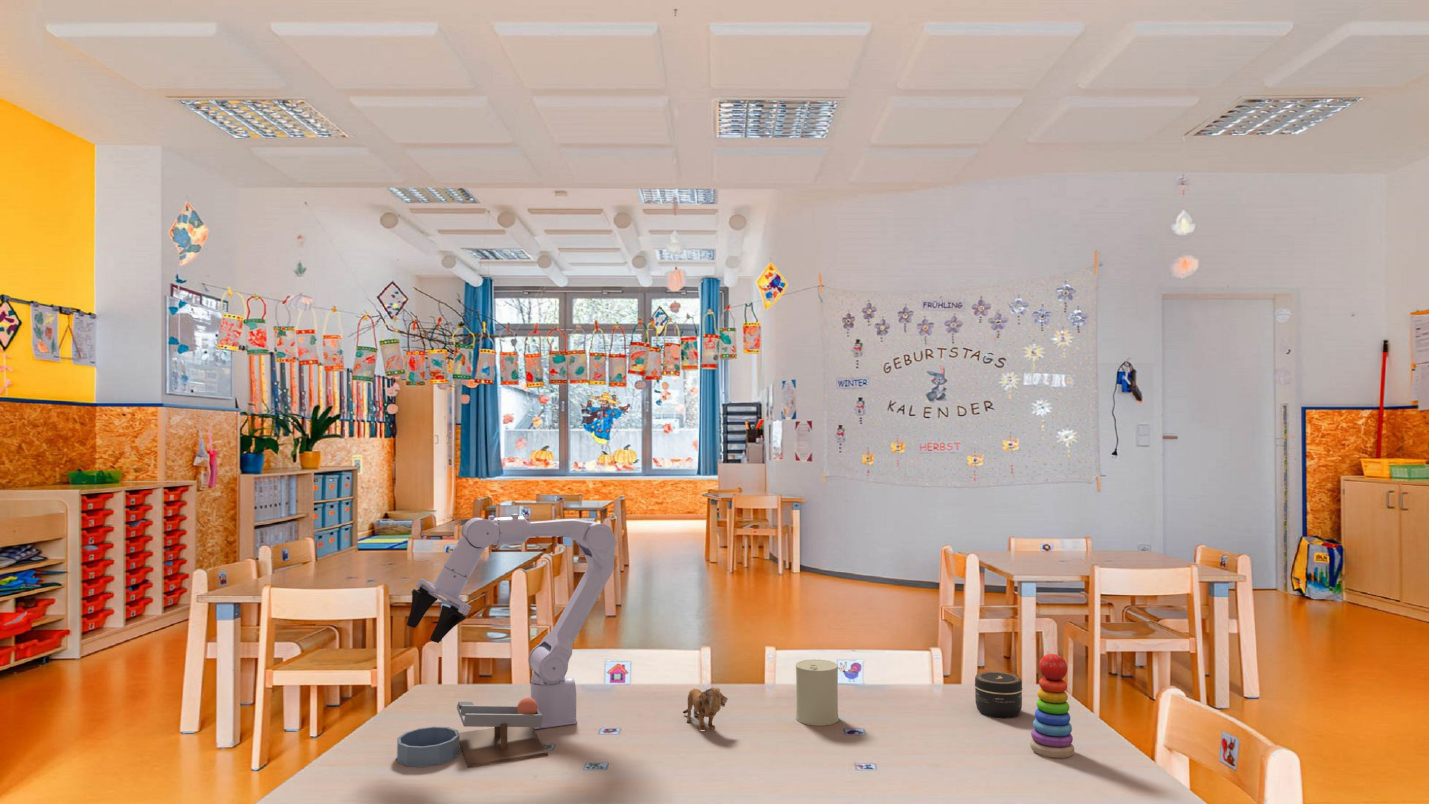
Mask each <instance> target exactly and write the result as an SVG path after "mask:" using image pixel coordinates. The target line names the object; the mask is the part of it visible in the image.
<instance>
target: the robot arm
mask: <svg viewBox="0 0 1429 804" xmlns="http://www.w3.org/2000/svg"><path fill="white" fill-rule="evenodd" d="M460 530H461V531H460V532H461V533H460V534H461V536H460V538H459V539H458V541H457V543H456V544H455V546H454V547H453V549H452V550H451V552H450V553H449V556H448V558H447V559H446V562H445V563H444V565H443V567H442V569H441V570H440V572H439V574H438V576H437V578H436V580H435V581H434V583H432V582H430V581H428V580H425V579H424V578H419V580H418V582H417V584H416V585H415V587H416V588H418V589H415V588H413V589H412V591H411V607H410V611H409V615H408V618H407V621H406V622H407V623H406V626H407V627H410V628H413V629H416V628H417V627H418V625H419V624H420V623H421V621H422V619H423V617H424V615H426V613H427V612H428V610H429V609H430V607H432V606H433V604H435V603H436V602H437V601H441V602H443V605H441V608H440V609H441V610H440V612H439V613H440V614H439V618H438V620H437V623H436V625H435V627H434V629H433V630H432V633H431V635H430V638H429V640H430V642H434V643H437V644H440V642H441V641H442V640H443V638H445V637H446V636H447V634H448V633H449V632H450V631H451V630H452V629H454V627H456V626H457V625H458V624H460V623H462V622H463V621H464V620H465V619H466V618H467V615H468V614H469V612H470V610H471V608H472V605H470V604H468V603H466V602H465V601H464V600H463V599H461V598H459V597H460V595H462V592H463V590H464V588H465V587H466V585H467V583H468V581H469V580H470V577H471V575H472V574H473V572H474V570H475V568H476V566H477V565H478V564H479V562H480V559H481V556H482V555H483V553H484V551H485V549H486V548H488V547H490V546H491V545H493V546H502V545H503V546H505V545H516V544H517V545H519V544H525V543H526V542H527V541H528V540H529V539H530V538H537V537H539V538H540V537H543V538H545V537H567V538H568V539H571V540H573V541H575V542H576V544H577V545H578V547H579V548H580V549H581V551H582V553H583V555H584V557H585V561H586V564H587V568H586V570H585V572H584V573H583V575H582V577H581V579H580V581H579V582H578V584H577V585H576V588H575V589H574V591H573V593H572V595H571V596H570V598H569V600H568V602H567V603H566V605H565V607H564V609H563V611H562V612H561V614H560V616H559V618H558V619H557V620H556V621H557V622H555V625H554V626H553V628H552V630H551V631H549V632H548V633H547V634H546V635H545V636H544V637H543V638H542V640H541V641H540V642H539V644H537V645H536V646H535V647H533V648H532V650H531V651H530V652H529V655H528V660H527V662H528V666H529V668H530V669H531V670H532V671H533V672H532V675H531V677H530V698H532V699H534V700H535V701H536V703H537V706H538V709H539V711H540V712H541V714H542V715H543V717H542V724H541V727H533V729H534V730H538V729H539V730H540V729H545V728H546V729H547V728H552V727H561V726H567V725H568V726H570V725H574V724H575V725H576V724H578V721H577V687H576V686H577V685H576V681H575V679H574V678H573V677H566V675H567V672H568V670H569V662H570V659H571V657H572V656H573V643H574V642H575V639H576V638H577V636H578V635H579V633H580V630H581V629H582V627H583V626H584V624H585V621H586V620H587V618H588V617H589V614H590V613H591V610H593V608H594V606H595V604H596V602H597V600H598V599H599V597H600V595H601V593H602V592H603V590H604V588H605V586H606V584H607V583H608V581H609V579H610V578H611V575H612V573H613V571H614V569H615V548H616V546H617V542H618V541H617V539H616V537H615V534H614V531H613V530H612V528H611V527H610V526H609V525H608V524H606V523H599V522H597V521H594V520H593V519H591V520H590V519H585V520H583V519H578V518H564V519H549V520H540V521H528V520H527V518H526V517H525V516H519V513H511V515H510V516H504V517H495V515H488V519H486V518H482V517H472V518H470V519H469V520H467V521H466V522H465V523H464V524H462V527H461V529H460ZM442 597H443V598H442ZM445 604H446V605H445Z"/></svg>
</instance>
